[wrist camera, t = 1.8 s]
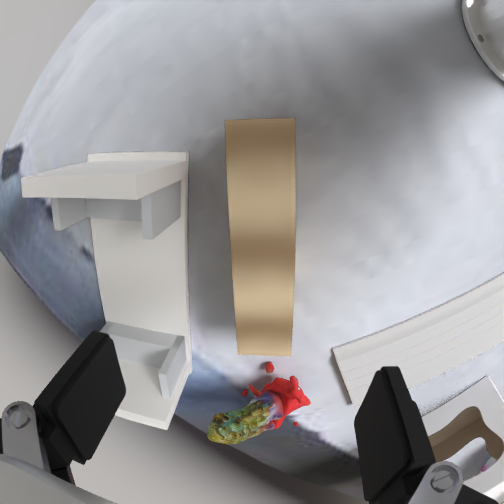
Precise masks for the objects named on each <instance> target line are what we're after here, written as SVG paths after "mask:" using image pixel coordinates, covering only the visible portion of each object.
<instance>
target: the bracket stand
mask: <svg viewBox="0 0 504 504" xmlns="http://www.w3.org/2000/svg"><path fill="white" fill-rule="evenodd" d="M188 168H189V152H171V151H153V152H112V153H92V154H88V162H84V163H79V164H75V165H70V166H66V167H61V168H57V169H53V170H48V171H44V172H40V173H37V174H33V175H29V176H25V177H22V178H21V183H22V196H23V197H47V198H51V204H52V214H53V223H54V230H58V231H61V230H63V229H65V228H67V227H69V226H71V225H73V224H75V223H77V222H79V221H81V220H83V219H85V218H90V219H91V230H92V240H93V248H94V256H95V263H96V270H97V277H98V283H99V289H100V295H101V300H102V305H103V310H104V315H105V320H106V324H105V325H104V327H103V328H102V329H101V330H100V331H99V332H103V333H107V334H109V336H110V338H111V339H113V341H114V345H115V349H116V353H117V357H118V361H119V365H120V368H121V372H122V376H123V379H124V383H125V386H126V395H125V397H124V399H123V401H122V402H121V404H120V406H119V408H118V410H117V411H116V413H115V415H116V416H119V417H122V418H125V419H129V420H132V421H135V422H139V423H142V424H146V425H149V426H154V427H157V428H161V429H165V430H167V429H168V426H169V424H170V421H171V419H172V416H173V414H174V411H175V409H176V406H177V403H178V401H179V398H180V396H181V393H182V390H183V388H184V385H185V383H186V380H187V378H188V375H189V374H191V373H192V370H193V368H192V353H191V337H190V317H189V292H188V236H187V223H188Z"/></svg>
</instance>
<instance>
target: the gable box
mask: <svg viewBox="0 0 504 504" xmlns="http://www.w3.org/2000/svg"><path fill="white" fill-rule="evenodd" d="M422 420H423V423H424V426H425V429H426V432H427V435H428V438H429V441H430V444H431V447H432V450H433V453H434V456H435V459H436V463H437V462H440V461H443V460H446V459H448V458H450V457H451V456H453V455H454V454H456V453H457V452H458V451H459V450H461V449H462V448H463V447H464V446H465V445H466V444H468V443H469V442H470V441H472V440H473V439H475V438H478V437H482V438H483V439H484V440H485V442H486V447H487V450H488V452H489V454H490V455H491V456H492V457H493V458H495V459H496V460H497V462H496V463H495V464H494V465H493V466H491V467H490V468H489V469H487V470H486V471H484V472H483V473H481V474H479V475H477V476H475V477H473V478H471V479H469V480H466V481H464V482H463V483H462V484H464V485H466V486H468V487H470V488H472V489H474V490H476V491H478V492H480V493H482V494H484V495H486V496H488V497H490V498H492V499H494V500H496V501H497V502H498V503H499V504H502V503H504V401H503V399H502V397H501V395H500V394H499V392H498V390H497V389H496V387H495V385H494V384H493V382H492V381H491V379H490V377H489V376H485V377H484V378H482V379H481V380H480V381H478V382H477V383H475V384H474V385H473V386H471V387H470V388H468V389H467V390H465V391H464V392H462V393H461V394H459V395H458V396H456V397H455V398H453V399H451V400H450V401H448V402H447V403H445V404H443V405H442V406H440V407H438V408H437V409H435V410H433V411H431V412H430V413H428V414H426V415H424V416H423V417H422Z"/></svg>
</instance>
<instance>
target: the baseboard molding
mask: <svg viewBox="0 0 504 504" xmlns="http://www.w3.org/2000/svg"><path fill="white" fill-rule="evenodd" d="M503 341H504V272H502V273H501V274H499V275H497V276H495V277H494V278H492V279H490V280H488V281H486V282H484V283H483V284H481V285H479V286H477V287H475V288H473V289H471V290H469V291H467V292H465V293H463V294H461V295H459V296H457V297H455V298H453V299H451V300H449V301H447V302H445V303H443V304H441V305H439V306H437V307H434V308H432V309H430V310H428V311H426V312H423V313H421V314H419V315H416V316H414V317H412V318H410V319H407V320H405V321H402V322H400V323H398V324H395V325H393V326H390V327H388V328H385V329H383V330H380V331H378V332H375V333H372V334H370V335H367V336H364V337H362V338H359V339H356V340H353V341H351V342H348V343H345V344H342V345H339V346H336V347H333V348H332V349H333V352H334V354H335V357H336V361H337V364H338V367H339V369H340V371H341V374H342V377H343V379H344V382H345V385H346V387H347V390H348V393H349V395H350V398H351V401H352V403H353V406H354V408H355V407H358V406H361V404H362V402H363V400H364V398H365V395H366V393H367V391H368V389H369V386H370V384H371V382H372V380H373V377H374V375H375V373H376V371H377V370H380V369H381V368H382V367H383V366H398V367H399V368H400V370H401V373H402V375H403V378H404V380H405V383H406V386H407V388H408V389H409V388H411V387H414V386H416V385H418V384H421V383H423V382H425V381H428V380H430V379H432V378H434V377H437V376H439V375H441V374H443V373H445V372H447V371H449V370H452V369H454V368H456V367H458V366H460V365H462V364H464V363H466V362H467V361H469V360H471V359H473V358H475V357H477V356H479V355H480V354H482V353H484V352H486V351H488V350H489V349H491V348H493V347H495V346H496V345H498V344H500V343H501V342H503Z"/></svg>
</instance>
